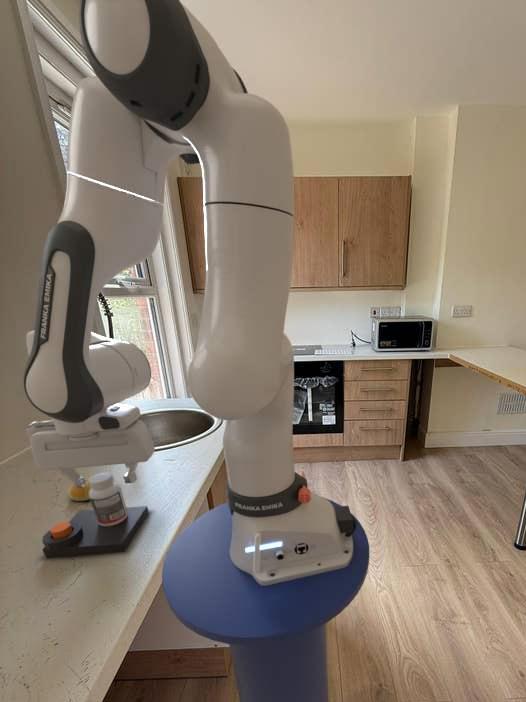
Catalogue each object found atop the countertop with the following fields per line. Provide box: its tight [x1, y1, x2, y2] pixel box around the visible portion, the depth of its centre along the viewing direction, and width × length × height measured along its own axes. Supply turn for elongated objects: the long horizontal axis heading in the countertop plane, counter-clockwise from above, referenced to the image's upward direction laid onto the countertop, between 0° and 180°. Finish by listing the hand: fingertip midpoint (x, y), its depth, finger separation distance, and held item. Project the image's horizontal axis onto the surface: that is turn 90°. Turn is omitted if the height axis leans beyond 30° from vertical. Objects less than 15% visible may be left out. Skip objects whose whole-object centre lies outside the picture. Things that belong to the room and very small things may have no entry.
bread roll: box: [67, 477, 91, 502], centre depth 83 cm, size 8×9×4 cm
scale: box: [42, 505, 150, 558], centre depth 69 cm, size 14×12×4 cm
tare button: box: [49, 521, 72, 539], centre depth 65 cm, size 3×3×2 cm
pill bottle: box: [89, 472, 128, 526], centre depth 69 cm, size 5×5×10 cm
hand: (106, 483), depth 67 cm, fingers open, 8 cm apart
